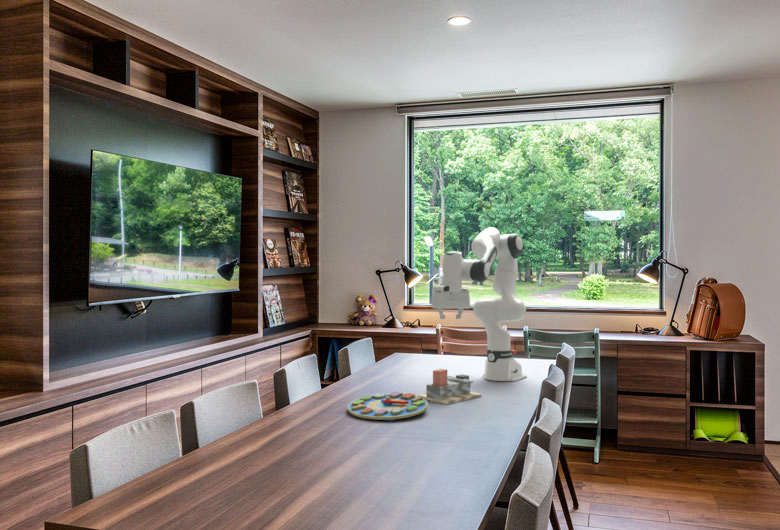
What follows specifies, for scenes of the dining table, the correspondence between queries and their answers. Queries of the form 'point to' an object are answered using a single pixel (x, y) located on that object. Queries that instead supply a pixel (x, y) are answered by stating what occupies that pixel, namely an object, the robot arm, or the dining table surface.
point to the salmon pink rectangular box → (440, 377)
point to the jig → (451, 390)
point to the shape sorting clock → (388, 406)
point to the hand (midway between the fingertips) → (450, 318)
